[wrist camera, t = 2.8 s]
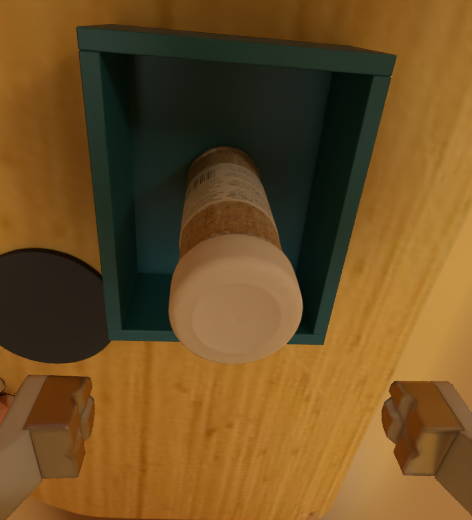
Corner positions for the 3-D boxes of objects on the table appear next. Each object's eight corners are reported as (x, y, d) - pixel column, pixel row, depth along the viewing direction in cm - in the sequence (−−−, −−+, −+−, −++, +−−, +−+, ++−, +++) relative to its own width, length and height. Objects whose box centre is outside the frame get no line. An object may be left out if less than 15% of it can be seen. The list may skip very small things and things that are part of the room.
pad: (-43, 244, 26) (-47, 248, 26) (114, 251, 27) (113, 255, 27) (-9, 357, 31) (-12, 362, 31) (123, 360, 32) (122, 365, 32)
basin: (110, 23, 21) (75, 26, 15) (351, 46, 22) (397, 55, 16) (127, 280, 28) (108, 340, 23) (303, 286, 30) (323, 345, 24)
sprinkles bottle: (212, 226, 26) (213, 387, 15) (171, 167, 24) (137, 303, 13) (274, 191, 25) (327, 335, 14) (237, 127, 23) (265, 235, 12)
